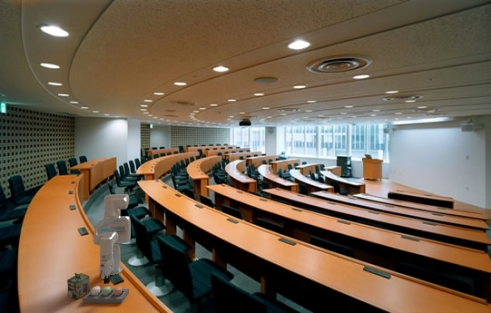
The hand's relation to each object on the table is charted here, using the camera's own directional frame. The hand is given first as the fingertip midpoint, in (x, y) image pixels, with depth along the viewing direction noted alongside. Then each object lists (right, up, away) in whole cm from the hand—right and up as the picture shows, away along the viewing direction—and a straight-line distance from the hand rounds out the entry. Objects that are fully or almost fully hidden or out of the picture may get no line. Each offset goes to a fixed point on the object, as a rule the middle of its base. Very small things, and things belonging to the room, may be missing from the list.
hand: (106, 283), depth 155 cm
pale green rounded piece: (0, -8, +1) cm, 8 cm away
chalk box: (-21, -9, +4) cm, 23 cm away
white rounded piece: (-7, -8, +1) cm, 11 cm away
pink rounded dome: (+7, -8, +1) cm, 10 cm away
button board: (0, -10, +1) cm, 10 cm away
